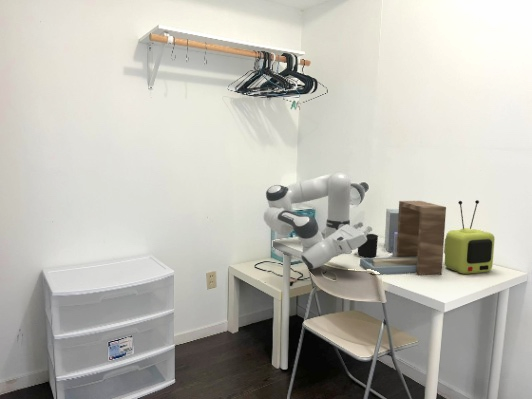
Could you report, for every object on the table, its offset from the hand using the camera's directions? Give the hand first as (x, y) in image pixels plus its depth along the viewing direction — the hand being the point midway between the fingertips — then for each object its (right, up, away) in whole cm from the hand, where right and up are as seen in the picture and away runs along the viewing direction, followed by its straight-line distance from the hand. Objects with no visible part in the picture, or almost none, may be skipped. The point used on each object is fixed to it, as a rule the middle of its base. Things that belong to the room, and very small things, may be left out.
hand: (366, 225), depth 168 cm
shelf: (+24, -19, +7) cm, 31 cm away
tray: (+14, -19, +5) cm, 24 cm away
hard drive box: (+24, -15, +40) cm, 49 cm away
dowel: (+14, -18, +5) cm, 23 cm away
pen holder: (+7, -16, +26) cm, 31 cm away
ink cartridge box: (+23, -17, +21) cm, 36 cm away
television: (+44, -19, +7) cm, 48 cm away
